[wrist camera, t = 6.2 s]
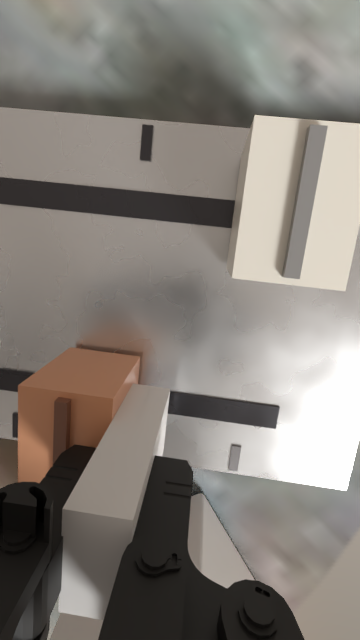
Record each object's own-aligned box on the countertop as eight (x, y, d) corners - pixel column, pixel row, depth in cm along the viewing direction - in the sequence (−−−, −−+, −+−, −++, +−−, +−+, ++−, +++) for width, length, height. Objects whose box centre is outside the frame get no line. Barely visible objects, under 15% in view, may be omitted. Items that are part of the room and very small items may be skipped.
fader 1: (67, 432, 15) (13, 502, 11) (70, 347, 14) (12, 389, 10) (133, 442, 15) (102, 517, 11) (140, 356, 14) (110, 403, 10)
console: (-87, 400, 18) (-124, 420, 16) (-109, 112, 15) (-158, 92, 13) (330, 462, 17) (347, 492, 15) (401, 157, 14) (434, 143, 12)
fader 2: (226, 268, 13) (232, 279, 9) (241, 155, 12) (256, 110, 8) (305, 277, 13) (349, 292, 9) (326, 163, 12) (387, 120, 8)
